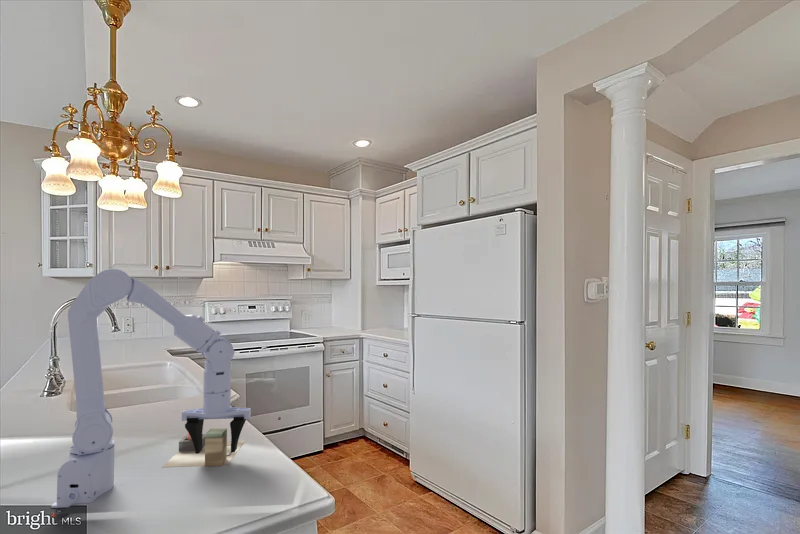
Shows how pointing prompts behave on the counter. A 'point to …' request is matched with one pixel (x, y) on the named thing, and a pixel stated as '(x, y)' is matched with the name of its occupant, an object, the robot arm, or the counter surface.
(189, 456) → the brown framed board
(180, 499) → the counter surface
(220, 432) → the green topped wooden block
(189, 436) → the button
